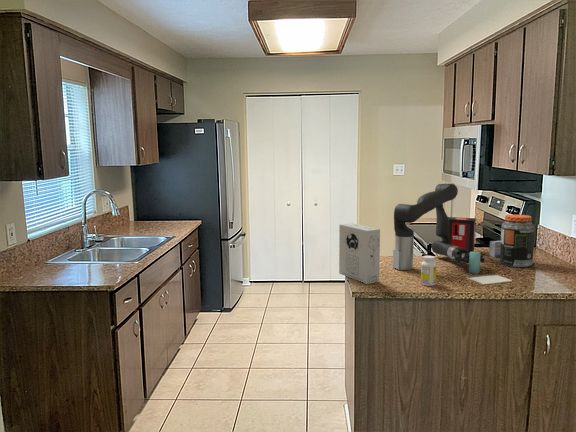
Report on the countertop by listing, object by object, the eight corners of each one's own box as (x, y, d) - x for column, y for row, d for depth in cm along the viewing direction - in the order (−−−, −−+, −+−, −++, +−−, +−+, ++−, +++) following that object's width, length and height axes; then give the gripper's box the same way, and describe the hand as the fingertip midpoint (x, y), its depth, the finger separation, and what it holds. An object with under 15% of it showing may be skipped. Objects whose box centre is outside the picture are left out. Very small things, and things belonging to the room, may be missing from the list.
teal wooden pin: (473, 273, 232) (474, 254, 230) (466, 271, 236) (467, 251, 235) (481, 273, 233) (482, 253, 232) (474, 270, 238) (475, 251, 236)
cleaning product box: (442, 252, 278) (444, 218, 275) (444, 249, 286) (446, 216, 283) (472, 255, 271) (474, 220, 268) (474, 251, 279) (475, 218, 276)
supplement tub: (531, 262, 253) (534, 214, 250) (533, 269, 239) (537, 218, 235) (499, 259, 260) (501, 213, 256) (499, 266, 245) (502, 217, 241)
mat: (483, 284, 214) (483, 283, 214) (466, 277, 225) (466, 276, 225) (512, 281, 218) (512, 280, 218) (494, 274, 230) (494, 273, 230)
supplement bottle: (433, 281, 219) (434, 254, 217) (437, 286, 212) (439, 258, 210) (418, 282, 219) (419, 255, 217) (423, 286, 212) (424, 258, 210)
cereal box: (379, 282, 220) (380, 229, 216) (366, 284, 216) (367, 230, 212) (351, 271, 238) (351, 222, 234) (338, 273, 234) (339, 224, 231)
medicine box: (494, 257, 264) (495, 242, 263) (488, 255, 269) (489, 240, 267) (506, 256, 266) (506, 241, 265) (500, 254, 271) (501, 240, 269)
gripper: (445, 247, 246) (463, 254, 230) (470, 246, 249) (489, 252, 233) (445, 261, 247) (462, 269, 231) (469, 260, 250) (488, 267, 234)
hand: (476, 261), depth 232 cm, fingers open, 8 cm apart
